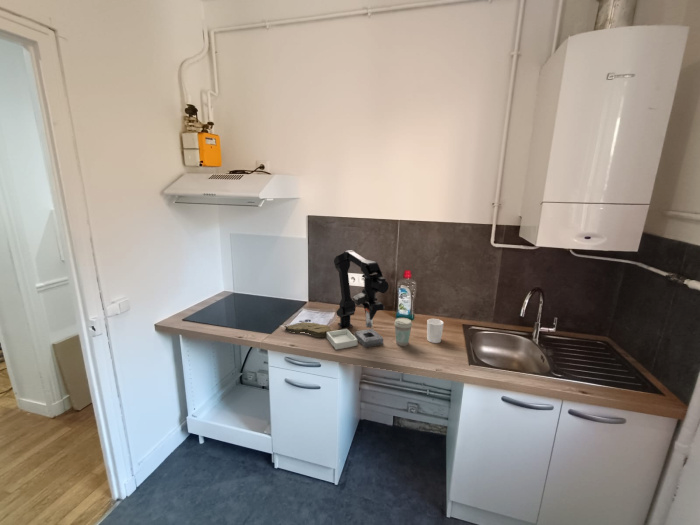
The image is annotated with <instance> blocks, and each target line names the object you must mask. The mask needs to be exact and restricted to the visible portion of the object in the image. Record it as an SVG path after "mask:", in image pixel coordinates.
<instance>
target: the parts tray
mask: <svg viewBox="0 0 700 525" xmlns="http://www.w3.org/2000/svg"><path fill="white" fill-rule="evenodd" d="M326 339H327V340H328V341H329V343H330V344H331V346H332V347H333V348H334V349H335V350H341V349H346V348H351V347H356V346H358V340H357V339H356V337H355V334H352V332H351V331H350V330H349V329H348V328H341V329H339V330H331V332H327V337H326Z"/></svg>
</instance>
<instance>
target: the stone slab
mask: <svg viewBox="0 0 700 525" xmlns="http://www.w3.org/2000/svg"><path fill="white" fill-rule="evenodd" d="M283 327H284V328H285V331H286V330H287V331H286V332H288V331H291V332H295V333H294V334H297V333H300V332H305V333H309V334H311V335H310V336H312V335H313V336H312V337H315V338H327V332H331V331H332V329H331V328H330V326H329V325H326V324H323V323H322V324H320V323H316V322H306V321H301V322H297V323H294V324H289V325H283ZM291 332H290V333H291ZM309 334H308V335H309Z"/></svg>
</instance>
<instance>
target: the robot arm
mask: <svg viewBox="0 0 700 525" xmlns="http://www.w3.org/2000/svg"><path fill="white" fill-rule="evenodd" d="M351 262H352V263H353V264H354V265H356V266H357V267H359V268H360V271H361V272H362V275H361V278H363V280H364V282H363V283H364V284H363V288H362V289H361V292H359V293H357V294H355V295H353V296H352V297H351V288H350V286H351V285H350V278H349V270H350V267H351ZM333 264H334V266H335V267H334V268H335V269H336V271H337V272H338V276H339V278H338V279H339V286H340V293H341V294H340V295H341V299H340V301H339V308H338V309H337V310H336V313H335V314H336V316H337V317H339V320H340V322H338V323H337V325H338V326H339V327H340V329H348V328H353V324H352V323H351V316H354V315H355V313H356V308H357V307H356V306H359V305H361V306H363V309H364V312H365V313H364V314H366V311H365V308H366V307H367V309H369V315H370V320H372V319H374V317H375V315H376V313H377V312H378V311H379V312H380V311H384V310H385V305H384V304H383V303H382V302H381V301H378V298H377V297H376V296H377V293H380V294H386V293H387V291H388V290H389V286H390V285H389V283H388V281H386V277H384V276H383V272H382V271H381V268H380V266H379V263H378V262H377V261H374V260H370V259H366V258H364V257H363V256H362V255H360V254H358V253H357V252H355V251H354V250H353V249H352V250H345V251H344V252H343V253H341V254H339V255H337V256H335V258H334V259H333Z"/></svg>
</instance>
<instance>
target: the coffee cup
mask: <svg viewBox="0 0 700 525" xmlns="http://www.w3.org/2000/svg"><path fill="white" fill-rule="evenodd" d="M393 324H394V329H395V342H396V345H398V346H400V347H406V346H408V345H409V341H410V337H411V336H410V335H411V330H412V326H413V323H412V320H411V319H409V318H407V317H398V318H396V319H395V321H394V323H393Z"/></svg>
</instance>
